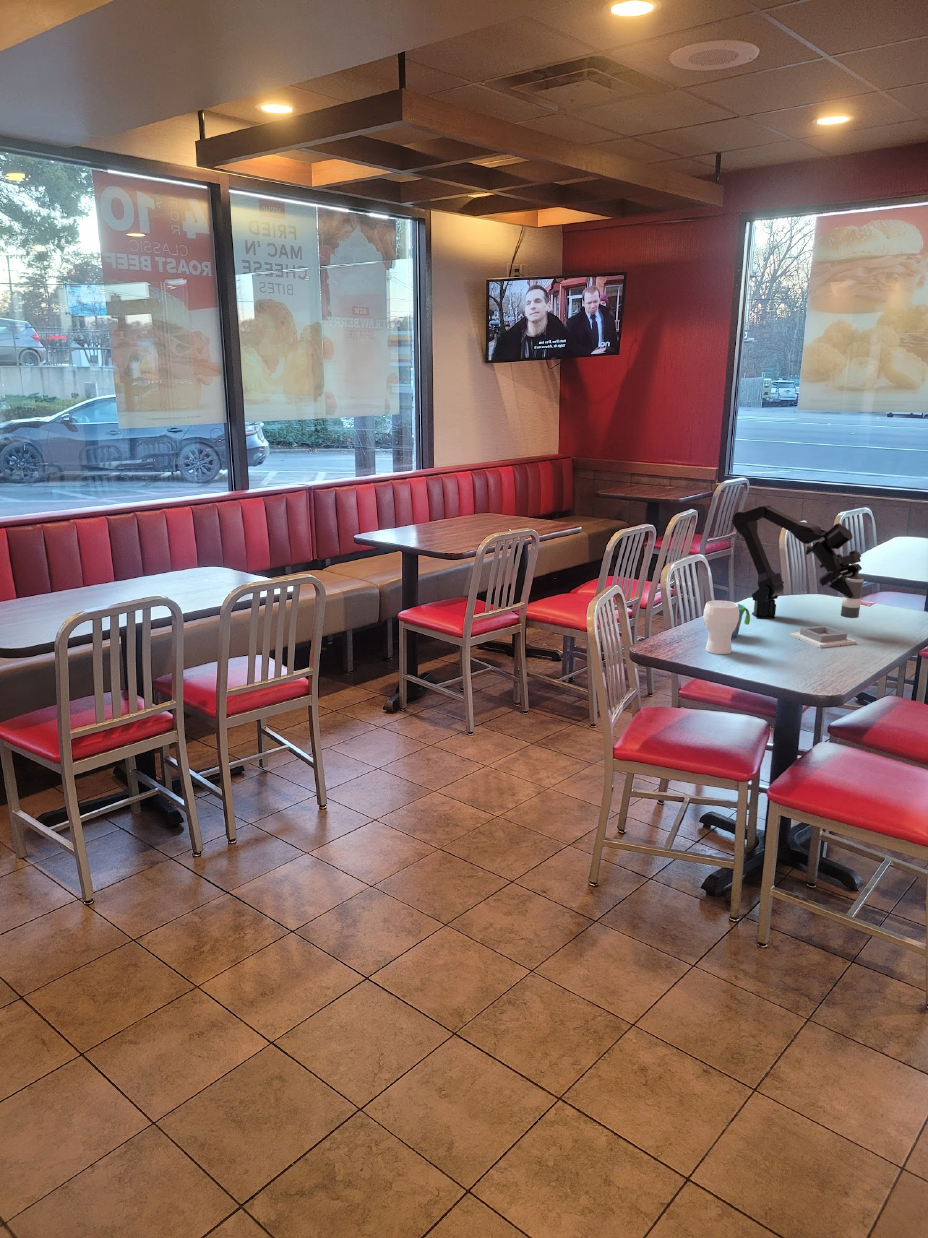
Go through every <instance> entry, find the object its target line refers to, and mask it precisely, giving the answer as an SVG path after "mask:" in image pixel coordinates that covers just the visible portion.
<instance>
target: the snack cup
mask: <svg viewBox="0 0 928 1238" xmlns="http://www.w3.org/2000/svg"><path fill="white" fill-rule="evenodd" d="M735 603H736V602H735ZM736 604H738V607H739V621H738V623H737V626H736V628H735V629H734V631H733V632H732V636H731V638H737V636H738V635H739V631H740V628H741V624H742V619H743V615H744V613H745V618H744V624H745V625H746V626H747V625H749V624H750V621H751V615H750V612H749V609H748V608H747V607H745V606H744V605H743V604H740V603H736ZM703 623H704V626H705V627H706V625H705V622H704V621H703Z"/></svg>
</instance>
